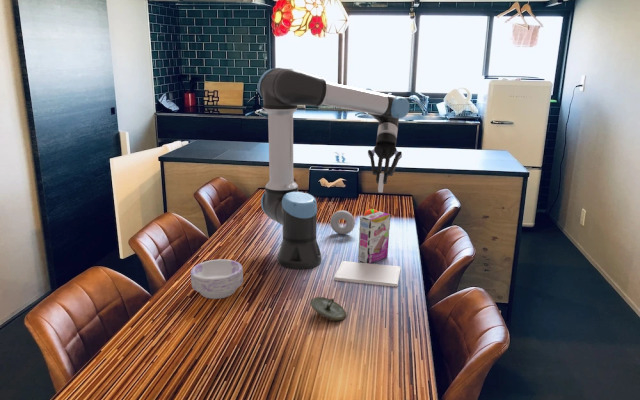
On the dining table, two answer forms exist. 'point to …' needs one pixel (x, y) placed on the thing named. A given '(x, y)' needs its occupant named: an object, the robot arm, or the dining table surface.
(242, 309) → the dining table surface
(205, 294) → the paper bowls
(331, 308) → the lid
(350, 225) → the donut
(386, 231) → the candy bar box
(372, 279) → the cutting board
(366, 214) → the clementine
